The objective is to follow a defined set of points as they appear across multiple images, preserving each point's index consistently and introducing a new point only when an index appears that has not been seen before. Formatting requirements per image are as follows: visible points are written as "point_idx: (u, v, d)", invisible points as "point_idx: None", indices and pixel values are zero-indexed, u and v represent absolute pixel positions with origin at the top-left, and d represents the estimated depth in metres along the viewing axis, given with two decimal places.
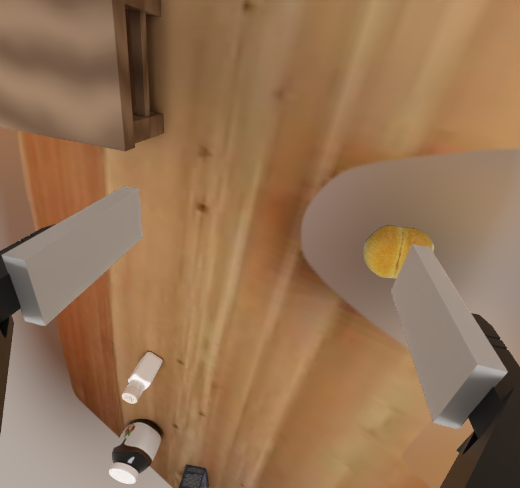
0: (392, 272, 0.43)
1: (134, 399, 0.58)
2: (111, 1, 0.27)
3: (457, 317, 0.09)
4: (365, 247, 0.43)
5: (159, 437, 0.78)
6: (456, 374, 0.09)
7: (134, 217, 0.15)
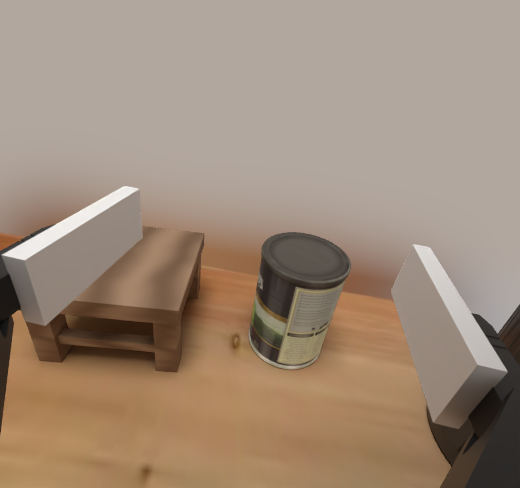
0: None
1: None
2: (148, 307, 0.30)
3: (457, 317, 0.09)
4: None
5: None
6: (456, 374, 0.09)
7: (134, 217, 0.15)
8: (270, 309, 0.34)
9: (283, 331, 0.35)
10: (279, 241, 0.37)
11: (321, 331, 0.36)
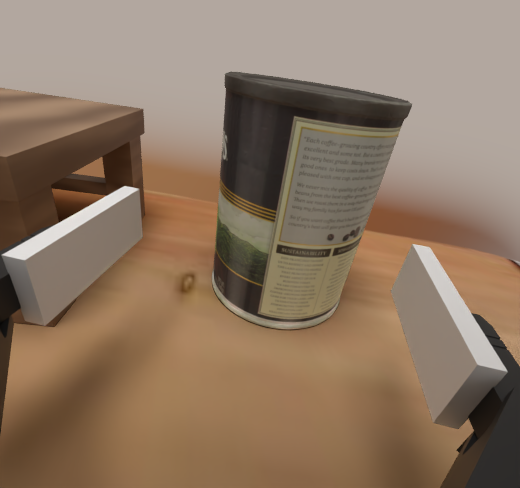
0: None
1: None
2: None
3: (457, 317, 0.09)
4: None
5: None
6: (456, 374, 0.09)
7: (134, 217, 0.15)
8: (241, 195, 0.17)
9: (268, 243, 0.17)
10: (265, 79, 0.19)
11: (345, 250, 0.18)
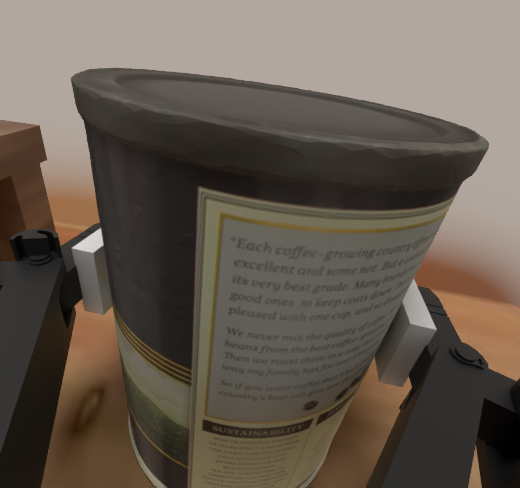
0: None
1: None
2: None
3: None
4: None
5: None
6: (396, 335, 0.10)
7: None
8: (127, 323, 0.08)
9: (186, 415, 0.08)
10: (194, 82, 0.10)
11: (341, 406, 0.10)
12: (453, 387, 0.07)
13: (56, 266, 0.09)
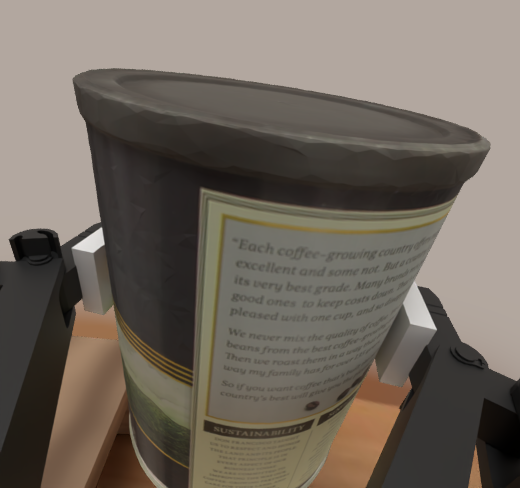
0: None
1: None
2: None
3: None
4: None
5: None
6: (396, 335, 0.10)
7: None
8: (128, 323, 0.08)
9: (187, 416, 0.08)
10: (195, 83, 0.10)
11: (343, 407, 0.10)
12: (453, 387, 0.07)
13: (56, 266, 0.09)
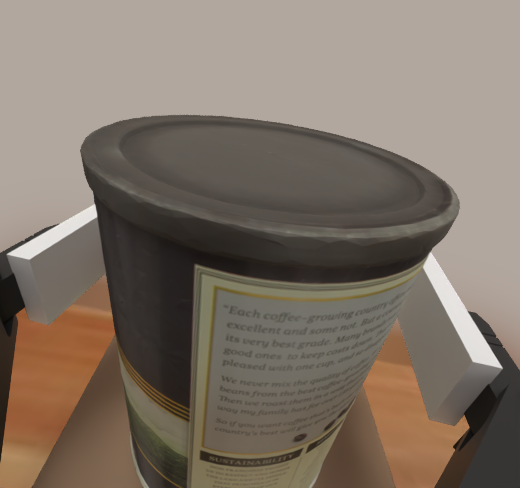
0: None
1: None
2: None
3: (453, 315, 0.09)
4: None
5: None
6: (452, 371, 0.09)
7: None
8: (130, 362, 0.09)
9: (185, 446, 0.09)
10: (193, 127, 0.11)
11: (330, 434, 0.10)
12: None
13: None
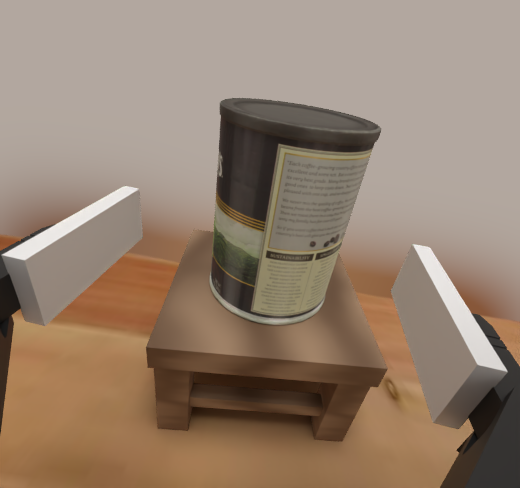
0: None
1: None
2: (344, 364, 0.20)
3: (457, 317, 0.09)
4: None
5: None
6: (456, 374, 0.09)
7: (134, 217, 0.15)
8: (235, 208, 0.19)
9: (259, 249, 0.19)
10: (255, 104, 0.21)
11: (326, 255, 0.20)
12: None
13: None
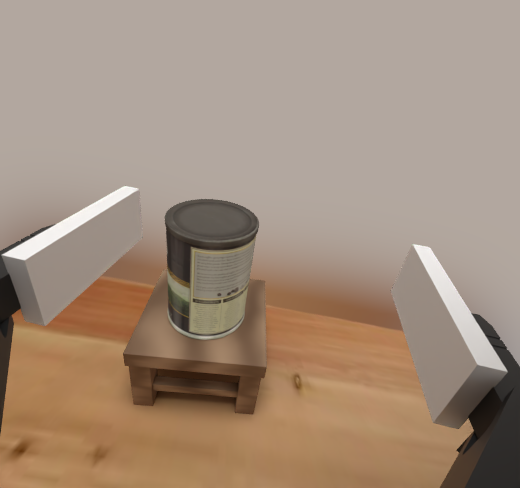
0: None
1: None
2: (240, 364, 0.34)
3: (457, 317, 0.09)
4: None
5: None
6: (456, 374, 0.09)
7: (134, 217, 0.15)
8: (174, 274, 0.33)
9: (188, 297, 0.33)
10: (191, 206, 0.35)
11: (231, 299, 0.35)
12: None
13: None
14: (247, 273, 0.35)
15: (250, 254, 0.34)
